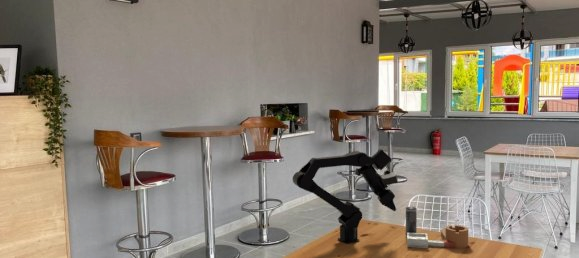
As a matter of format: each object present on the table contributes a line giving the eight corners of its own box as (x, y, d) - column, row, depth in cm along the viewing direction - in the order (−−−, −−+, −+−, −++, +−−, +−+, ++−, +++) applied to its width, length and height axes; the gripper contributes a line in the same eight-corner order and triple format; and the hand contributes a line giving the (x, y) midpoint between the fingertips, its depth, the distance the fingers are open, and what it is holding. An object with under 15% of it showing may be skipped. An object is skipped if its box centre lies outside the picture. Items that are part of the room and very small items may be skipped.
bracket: (470, 249, 172) (470, 231, 172) (447, 248, 173) (447, 230, 173) (459, 234, 190) (460, 218, 189) (439, 234, 191) (439, 218, 191)
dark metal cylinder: (411, 236, 188) (411, 210, 187) (403, 233, 192) (403, 207, 191) (418, 234, 190) (419, 208, 189) (411, 231, 194) (411, 206, 193)
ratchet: (407, 240, 182) (407, 232, 182) (453, 243, 178) (453, 235, 177) (407, 247, 175) (407, 238, 174) (455, 250, 170) (455, 241, 170)
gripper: (395, 172, 175) (416, 203, 178) (382, 159, 193) (401, 187, 196) (371, 189, 176) (392, 219, 179) (360, 174, 194) (380, 202, 197)
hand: (392, 206), depth 188 cm, fingers open, 9 cm apart
